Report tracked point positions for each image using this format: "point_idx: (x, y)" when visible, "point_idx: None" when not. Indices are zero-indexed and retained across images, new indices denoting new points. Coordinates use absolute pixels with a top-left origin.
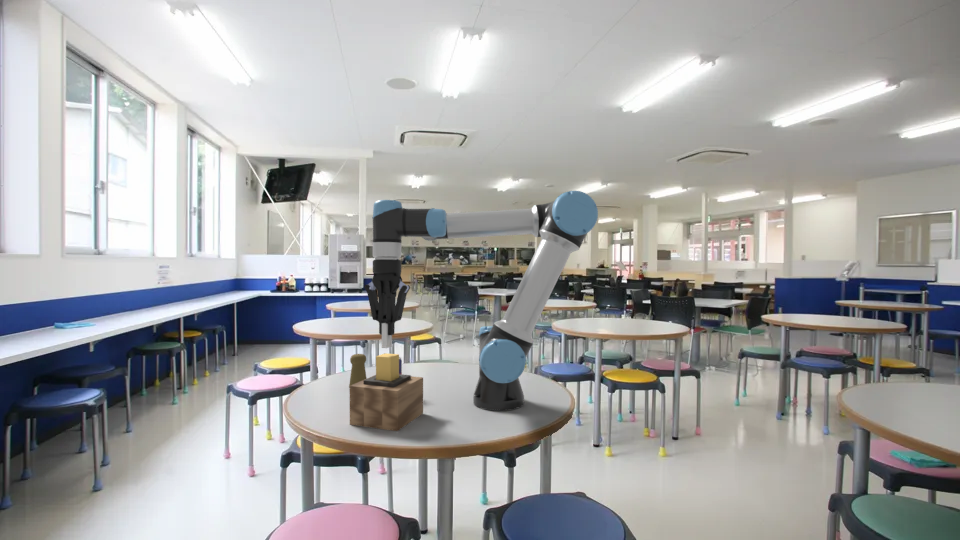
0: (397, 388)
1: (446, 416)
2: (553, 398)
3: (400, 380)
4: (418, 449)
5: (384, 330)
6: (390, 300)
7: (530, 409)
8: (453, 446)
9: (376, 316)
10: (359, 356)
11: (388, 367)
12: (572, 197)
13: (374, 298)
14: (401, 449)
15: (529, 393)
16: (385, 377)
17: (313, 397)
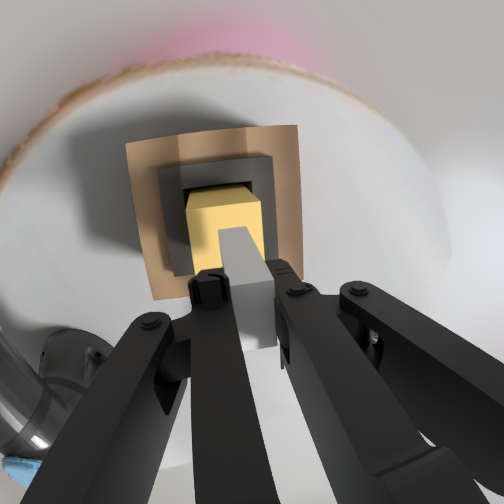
0: (141, 165)
1: (111, 267)
2: None
3: (163, 212)
4: (65, 99)
5: (240, 261)
6: (198, 473)
7: (31, 355)
8: (25, 145)
9: (348, 305)
10: None
11: (196, 200)
12: None
13: (468, 421)
14: (91, 82)
15: None
16: (209, 193)
17: (429, 238)
